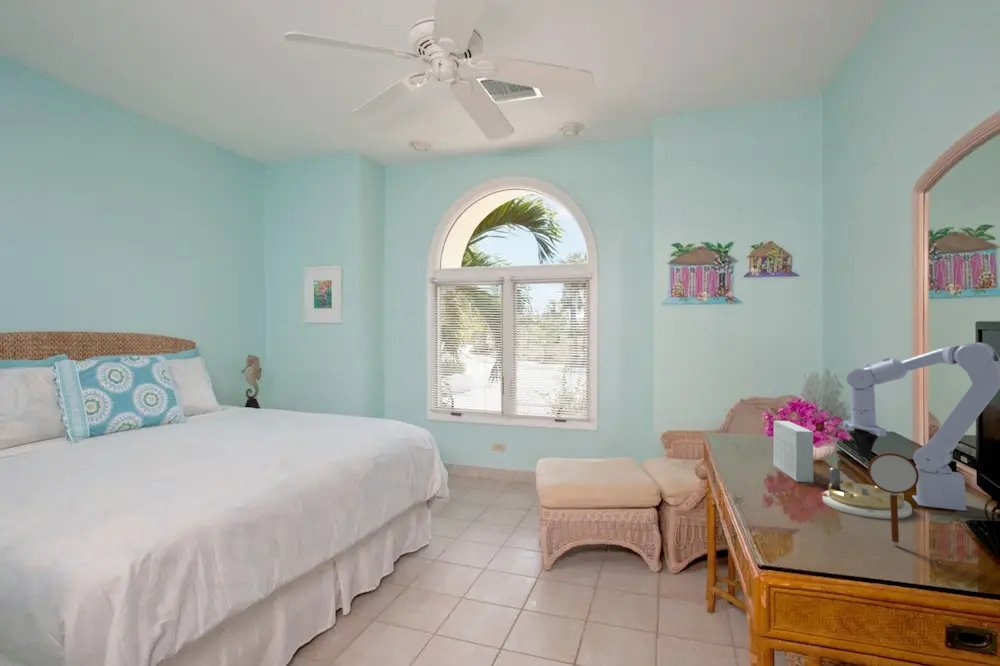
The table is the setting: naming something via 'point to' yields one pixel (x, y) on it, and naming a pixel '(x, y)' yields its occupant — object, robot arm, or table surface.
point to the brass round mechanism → (860, 493)
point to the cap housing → (882, 514)
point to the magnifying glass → (893, 481)
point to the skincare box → (793, 450)
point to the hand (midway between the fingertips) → (864, 456)
